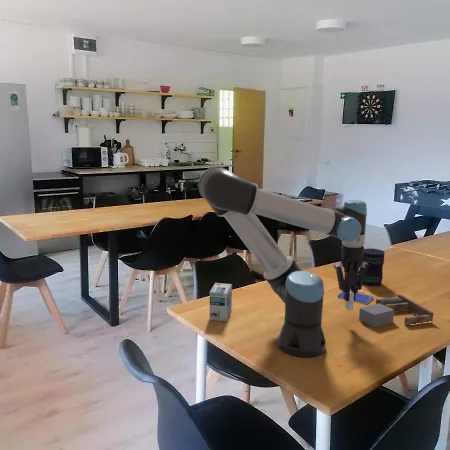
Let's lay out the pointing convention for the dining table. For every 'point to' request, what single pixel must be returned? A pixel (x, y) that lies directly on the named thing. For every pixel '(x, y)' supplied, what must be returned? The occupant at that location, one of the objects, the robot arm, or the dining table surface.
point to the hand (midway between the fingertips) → (349, 308)
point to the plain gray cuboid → (376, 314)
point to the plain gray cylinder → (391, 301)
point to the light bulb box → (220, 301)
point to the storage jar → (373, 267)
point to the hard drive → (359, 298)
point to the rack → (408, 304)
